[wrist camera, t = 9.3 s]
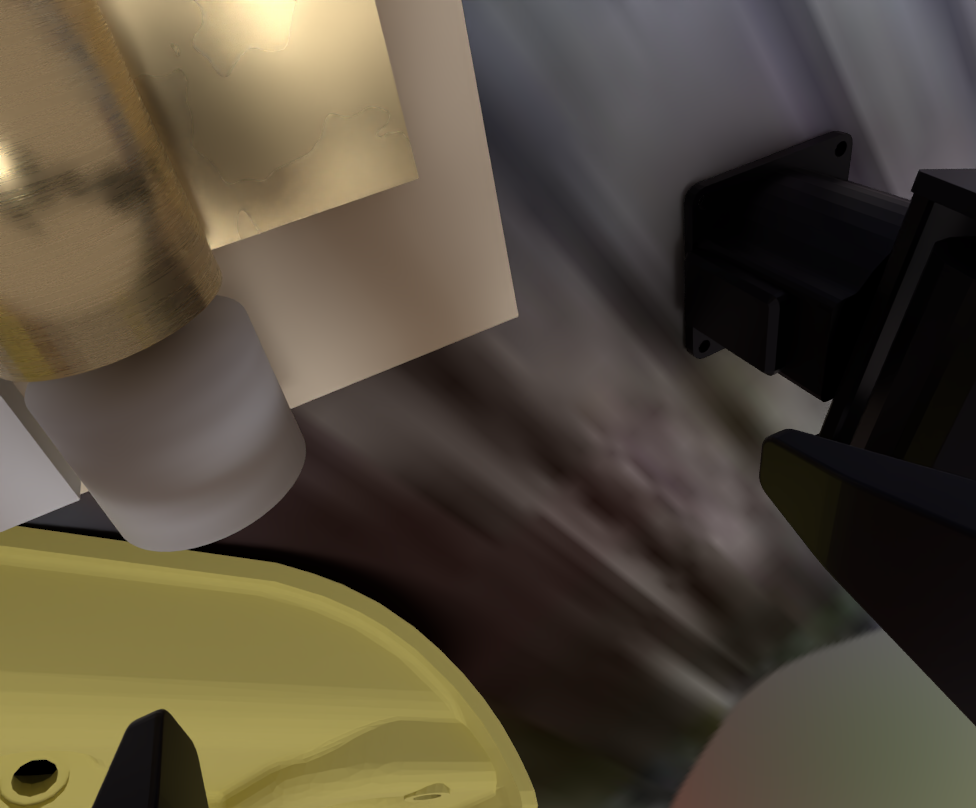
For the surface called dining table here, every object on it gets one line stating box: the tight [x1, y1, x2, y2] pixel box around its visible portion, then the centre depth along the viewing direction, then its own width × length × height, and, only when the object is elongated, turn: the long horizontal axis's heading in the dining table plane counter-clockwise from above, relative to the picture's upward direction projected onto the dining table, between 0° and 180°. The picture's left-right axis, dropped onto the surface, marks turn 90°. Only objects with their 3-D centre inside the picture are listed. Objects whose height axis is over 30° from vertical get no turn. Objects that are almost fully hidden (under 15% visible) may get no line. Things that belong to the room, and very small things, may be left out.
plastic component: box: [0, 526, 538, 808], centre depth 23 cm, size 20×7×10 cm
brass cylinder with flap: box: [0, 0, 419, 382], centre depth 12 cm, size 6×9×4 cm, turn 101°
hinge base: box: [0, 0, 518, 552], centre depth 12 cm, size 18×16×6 cm
